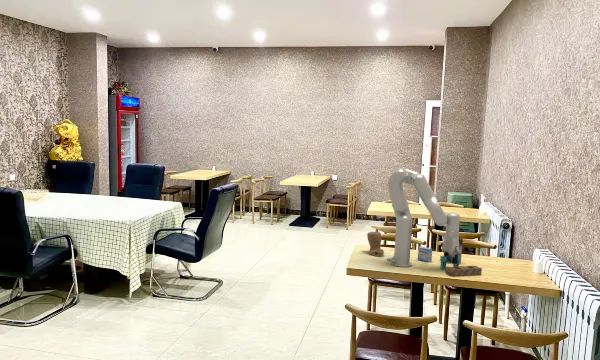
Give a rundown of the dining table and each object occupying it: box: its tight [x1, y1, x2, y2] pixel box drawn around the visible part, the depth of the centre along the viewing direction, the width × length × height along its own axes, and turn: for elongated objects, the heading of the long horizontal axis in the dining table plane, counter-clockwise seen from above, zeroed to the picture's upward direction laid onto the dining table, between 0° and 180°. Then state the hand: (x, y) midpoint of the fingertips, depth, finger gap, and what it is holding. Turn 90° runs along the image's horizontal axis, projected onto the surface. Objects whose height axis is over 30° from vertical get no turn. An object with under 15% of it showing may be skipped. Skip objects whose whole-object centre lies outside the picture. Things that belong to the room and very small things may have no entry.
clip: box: [439, 255, 460, 271], centre depth 282 cm, size 12×3×8 cm, turn 107°
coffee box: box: [446, 237, 464, 265], centre depth 299 cm, size 9×6×16 cm
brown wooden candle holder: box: [445, 265, 483, 277], centre depth 273 cm, size 20×6×4 cm, turn 107°
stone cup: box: [366, 231, 385, 257], centre depth 312 cm, size 15×12×15 cm
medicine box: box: [417, 245, 433, 263], centre depth 300 cm, size 8×4×9 cm, turn 47°
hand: (450, 261), depth 282 cm, fingers open, 8 cm apart
